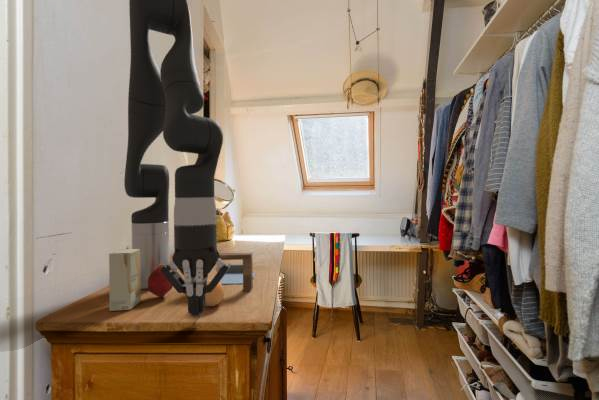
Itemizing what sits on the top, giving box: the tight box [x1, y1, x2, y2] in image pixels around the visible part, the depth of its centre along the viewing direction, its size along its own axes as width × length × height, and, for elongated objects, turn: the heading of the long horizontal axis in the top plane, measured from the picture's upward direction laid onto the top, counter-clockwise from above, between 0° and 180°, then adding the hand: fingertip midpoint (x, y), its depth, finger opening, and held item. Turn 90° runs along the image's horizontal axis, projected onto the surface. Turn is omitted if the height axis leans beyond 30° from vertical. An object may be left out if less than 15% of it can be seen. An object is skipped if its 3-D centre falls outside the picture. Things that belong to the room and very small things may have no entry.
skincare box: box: [108, 248, 142, 312], centre depth 66 cm, size 6×4×12 cm
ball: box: [205, 279, 225, 307], centre depth 66 cm, size 6×6×6 cm
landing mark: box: [210, 272, 256, 285], centre depth 88 cm, size 12×12×1 cm
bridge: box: [218, 252, 254, 292], centre depth 77 cm, size 3×14×9 cm, turn 91°
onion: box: [147, 264, 174, 298], centre depth 72 cm, size 6×6×8 cm
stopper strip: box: [226, 264, 243, 273], centre depth 95 cm, size 8×1×2 cm, turn 91°
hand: (197, 314), depth 56 cm, fingers closed
